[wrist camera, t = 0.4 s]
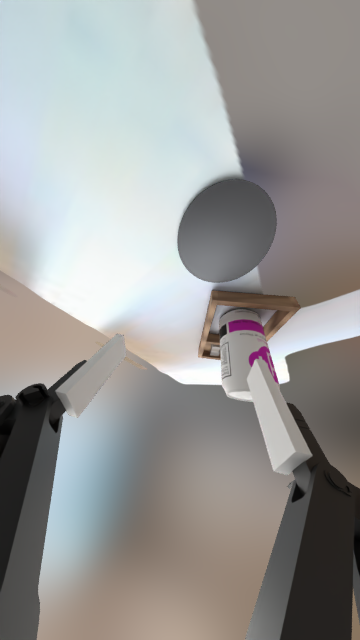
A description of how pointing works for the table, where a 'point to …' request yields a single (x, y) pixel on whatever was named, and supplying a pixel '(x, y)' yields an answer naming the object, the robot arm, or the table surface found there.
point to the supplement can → (242, 351)
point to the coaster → (226, 231)
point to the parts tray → (280, 303)
